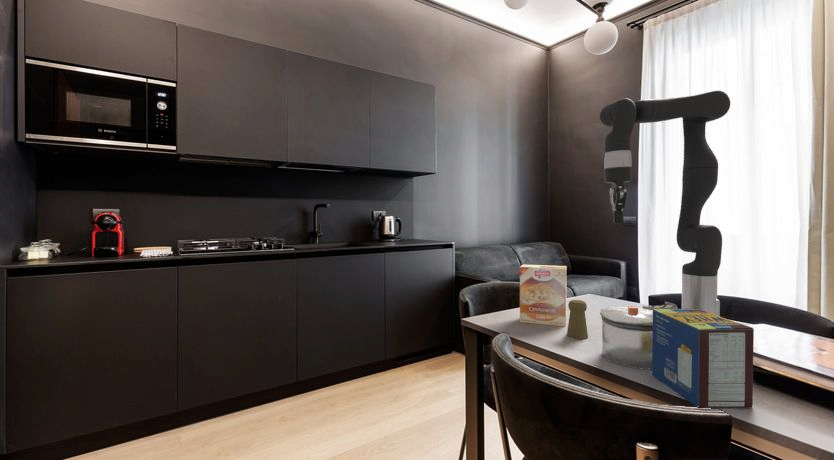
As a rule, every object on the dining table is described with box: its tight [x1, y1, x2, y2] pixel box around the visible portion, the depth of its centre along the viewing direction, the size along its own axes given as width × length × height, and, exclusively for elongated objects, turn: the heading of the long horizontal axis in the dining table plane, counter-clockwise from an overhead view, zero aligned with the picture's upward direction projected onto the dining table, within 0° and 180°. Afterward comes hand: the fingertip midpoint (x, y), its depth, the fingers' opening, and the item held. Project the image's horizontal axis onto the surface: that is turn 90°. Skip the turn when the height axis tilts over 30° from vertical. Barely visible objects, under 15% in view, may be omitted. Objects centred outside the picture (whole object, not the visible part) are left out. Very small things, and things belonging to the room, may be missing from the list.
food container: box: [642, 301, 679, 310], centre depth 112 cm, size 12×6×10 cm, turn 117°
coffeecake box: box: [519, 263, 568, 328], centre depth 131 cm, size 15×7×20 cm, turn 67°
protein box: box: [651, 308, 755, 409], centre depth 80 cm, size 10×15×16 cm
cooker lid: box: [599, 305, 653, 326], centre depth 98 cm, size 15×15×3 cm
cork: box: [566, 299, 589, 340], centre depth 116 cm, size 6×6×11 cm
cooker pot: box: [601, 316, 653, 370], centre depth 98 cm, size 14×14×10 cm
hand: (617, 223), depth 118 cm, fingers closed
